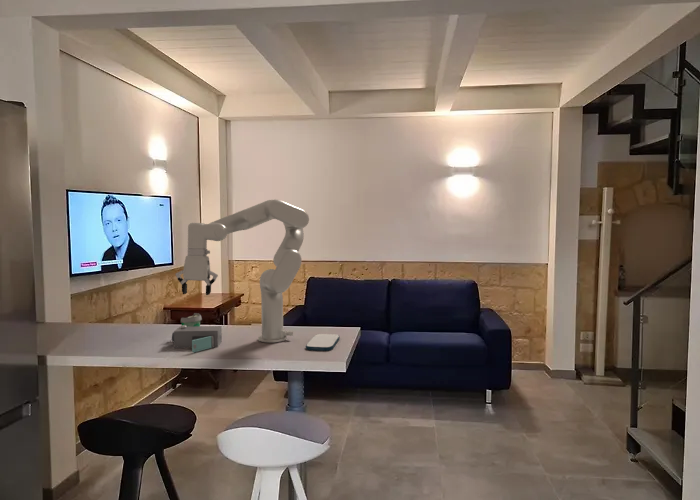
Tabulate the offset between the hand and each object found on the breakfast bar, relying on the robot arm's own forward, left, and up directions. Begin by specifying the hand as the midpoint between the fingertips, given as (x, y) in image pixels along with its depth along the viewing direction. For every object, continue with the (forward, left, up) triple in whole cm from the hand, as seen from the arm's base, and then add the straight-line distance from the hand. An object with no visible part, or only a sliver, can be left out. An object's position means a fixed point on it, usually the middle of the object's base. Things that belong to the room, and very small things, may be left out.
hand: (196, 294), depth 207 cm
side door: (-3, +2, -23) cm, 23 cm away
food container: (+6, -21, -23) cm, 32 cm away
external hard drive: (-53, -5, -24) cm, 58 cm away
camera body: (+1, -7, -23) cm, 24 cm away
